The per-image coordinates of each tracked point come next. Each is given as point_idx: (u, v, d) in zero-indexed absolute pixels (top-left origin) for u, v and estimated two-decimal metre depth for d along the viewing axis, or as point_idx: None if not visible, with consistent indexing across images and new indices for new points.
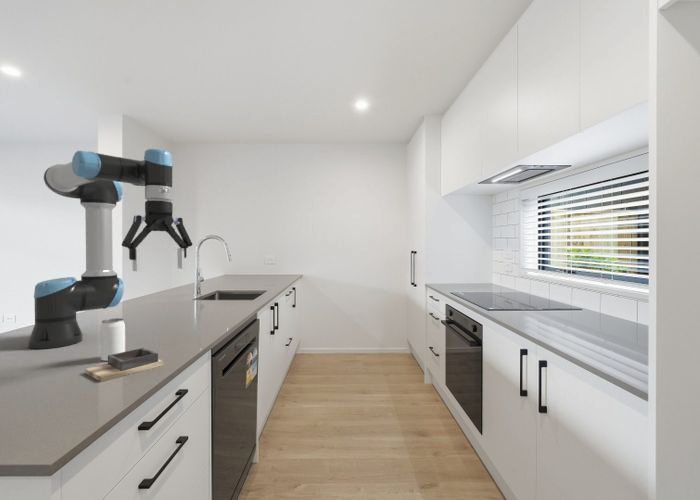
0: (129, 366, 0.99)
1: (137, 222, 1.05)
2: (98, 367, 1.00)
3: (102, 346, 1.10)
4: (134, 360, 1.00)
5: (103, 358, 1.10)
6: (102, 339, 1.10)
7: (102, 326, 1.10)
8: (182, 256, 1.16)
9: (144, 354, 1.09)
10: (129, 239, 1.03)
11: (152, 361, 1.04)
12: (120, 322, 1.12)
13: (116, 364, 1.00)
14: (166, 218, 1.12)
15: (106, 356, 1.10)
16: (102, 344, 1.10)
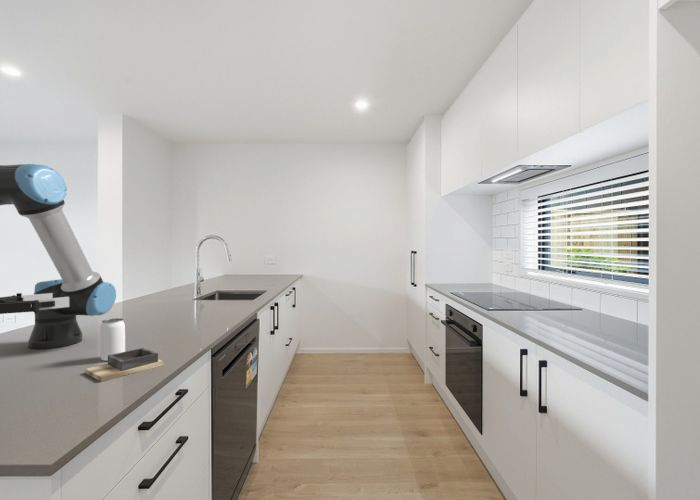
0: (129, 366, 0.99)
1: None
2: (98, 367, 1.00)
3: (102, 346, 1.10)
4: (134, 360, 1.00)
5: (103, 358, 1.10)
6: (102, 339, 1.10)
7: (102, 326, 1.10)
8: None
9: (144, 354, 1.09)
10: None
11: (152, 361, 1.04)
12: (120, 322, 1.12)
13: (116, 364, 1.00)
14: None
15: (106, 356, 1.10)
16: (102, 344, 1.10)
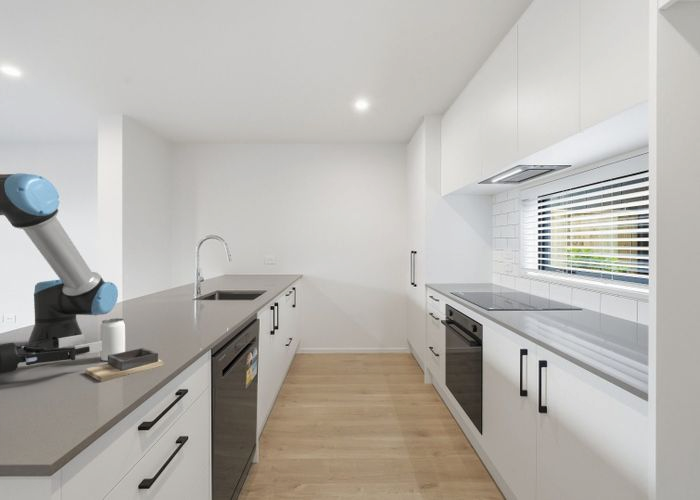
0: (129, 366, 0.99)
1: None
2: (98, 367, 1.00)
3: (102, 346, 1.10)
4: (134, 360, 1.00)
5: (103, 358, 1.10)
6: (102, 339, 1.10)
7: (102, 326, 1.10)
8: None
9: (144, 354, 1.09)
10: None
11: (152, 361, 1.04)
12: (120, 322, 1.12)
13: (116, 364, 1.00)
14: None
15: (106, 356, 1.10)
16: (102, 344, 1.10)
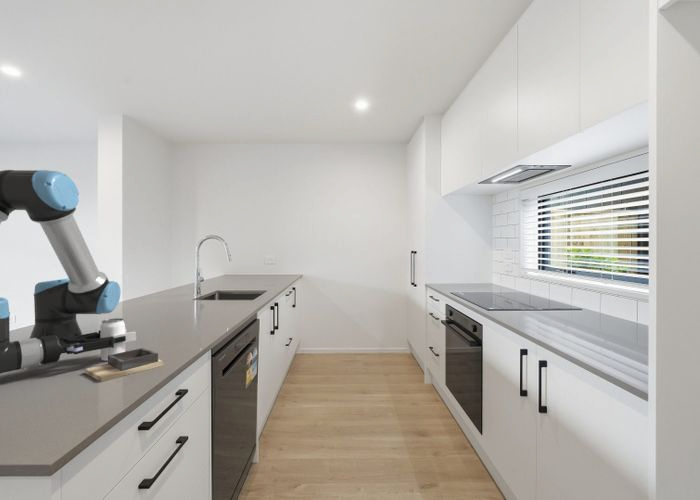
0: (129, 366, 0.99)
1: None
2: (98, 367, 1.00)
3: None
4: (134, 360, 1.00)
5: (103, 358, 1.10)
6: None
7: (102, 326, 1.10)
8: None
9: (144, 354, 1.09)
10: None
11: (152, 361, 1.04)
12: (120, 322, 1.12)
13: (116, 364, 1.00)
14: None
15: (106, 356, 1.10)
16: None
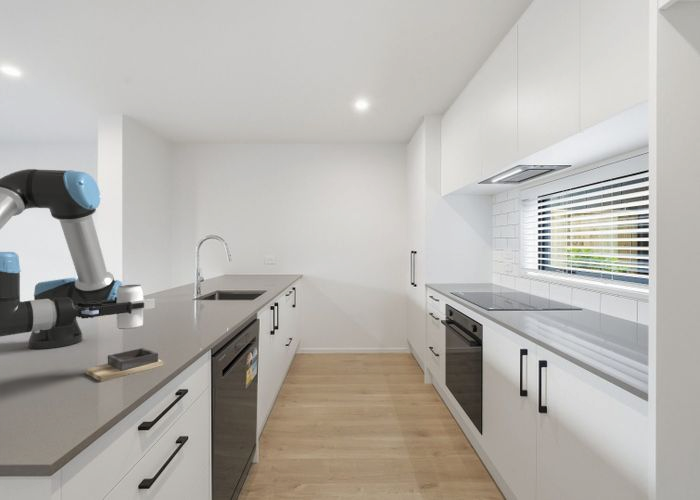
0: (129, 366, 0.99)
1: None
2: (98, 367, 1.00)
3: None
4: (134, 360, 1.00)
5: (120, 326, 1.01)
6: None
7: (119, 291, 1.01)
8: None
9: (144, 354, 1.09)
10: None
11: (152, 361, 1.04)
12: (138, 288, 1.03)
13: (116, 364, 1.00)
14: None
15: (123, 323, 1.01)
16: None
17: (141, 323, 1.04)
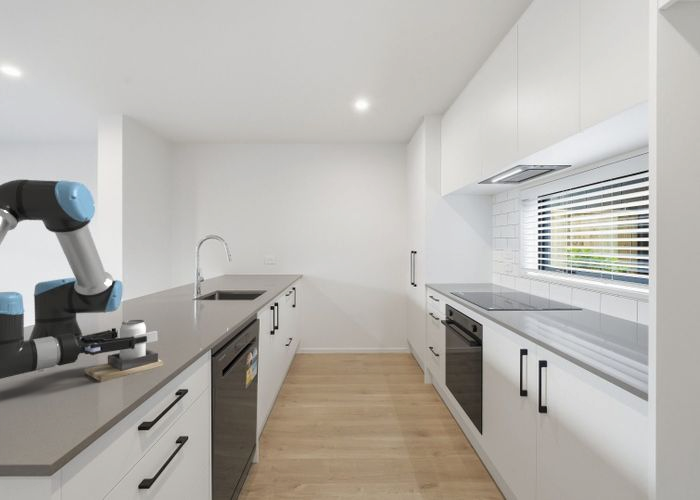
0: (129, 366, 0.99)
1: None
2: (98, 367, 1.00)
3: None
4: (134, 360, 1.00)
5: None
6: None
7: (122, 328, 1.02)
8: None
9: None
10: None
11: (152, 361, 1.04)
12: (141, 324, 1.04)
13: (116, 364, 1.00)
14: None
15: None
16: None
17: None
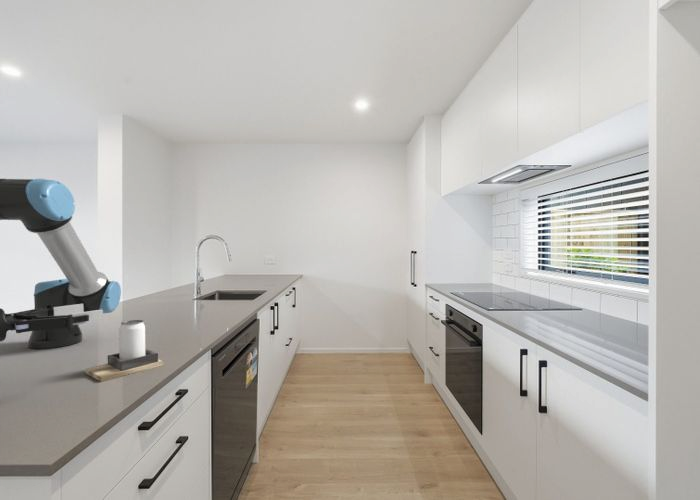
0: (129, 366, 0.99)
1: None
2: (98, 367, 1.00)
3: (121, 349, 1.01)
4: (134, 360, 1.00)
5: None
6: (121, 342, 1.01)
7: (121, 328, 1.02)
8: None
9: None
10: None
11: (152, 361, 1.04)
12: (140, 324, 1.04)
13: (116, 364, 1.00)
14: None
15: None
16: (121, 348, 1.01)
17: None
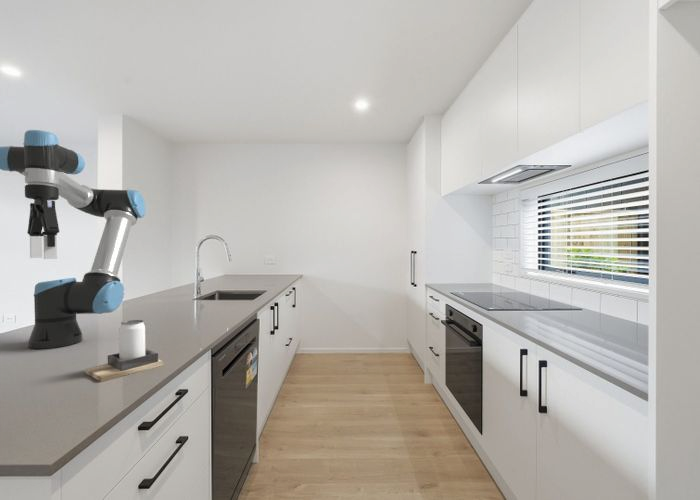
0: (129, 366, 0.99)
1: (30, 210, 1.08)
2: (98, 367, 1.00)
3: (121, 349, 1.02)
4: (134, 360, 1.00)
5: None
6: (121, 342, 1.01)
7: (121, 328, 1.02)
8: None
9: None
10: (28, 227, 1.09)
11: (152, 361, 1.04)
12: (140, 324, 1.04)
13: (116, 364, 1.00)
14: (39, 202, 1.03)
15: None
16: (121, 348, 1.01)
17: None
